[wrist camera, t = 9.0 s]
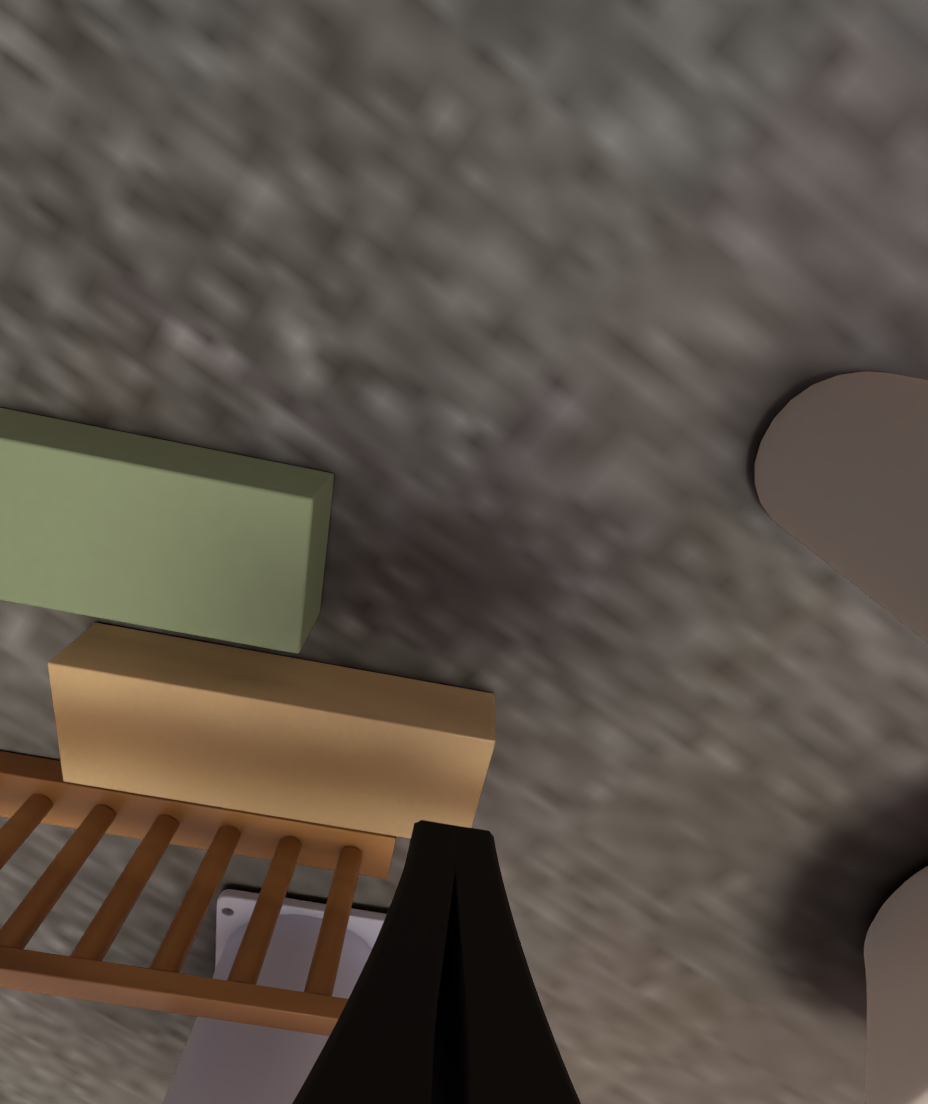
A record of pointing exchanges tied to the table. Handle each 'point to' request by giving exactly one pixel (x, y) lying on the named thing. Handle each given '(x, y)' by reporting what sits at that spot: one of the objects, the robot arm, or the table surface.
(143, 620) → the sage board
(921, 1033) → the white figure sculpture
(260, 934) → the plate rack
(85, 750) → the beech board
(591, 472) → the table surface
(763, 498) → the beverage can
